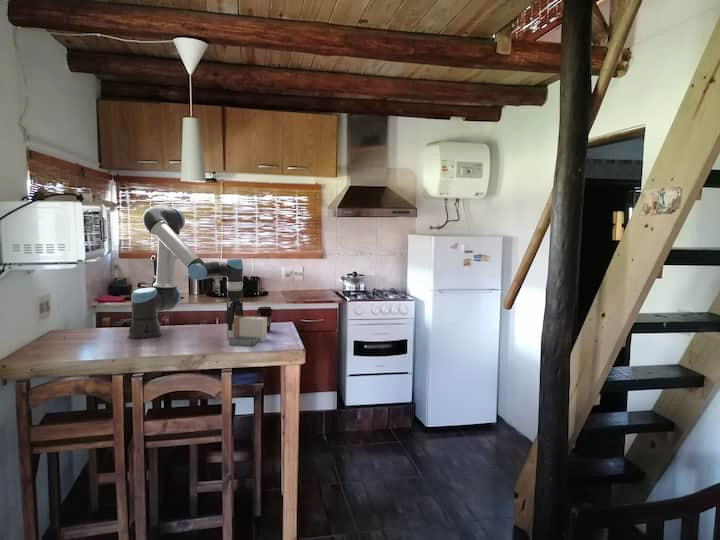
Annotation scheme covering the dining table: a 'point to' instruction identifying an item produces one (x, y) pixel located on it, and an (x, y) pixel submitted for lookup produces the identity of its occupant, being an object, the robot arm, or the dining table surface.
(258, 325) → the boxy square-sided block
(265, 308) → the coffee cup
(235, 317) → the stub
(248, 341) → the tray
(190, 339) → the dining table surface
